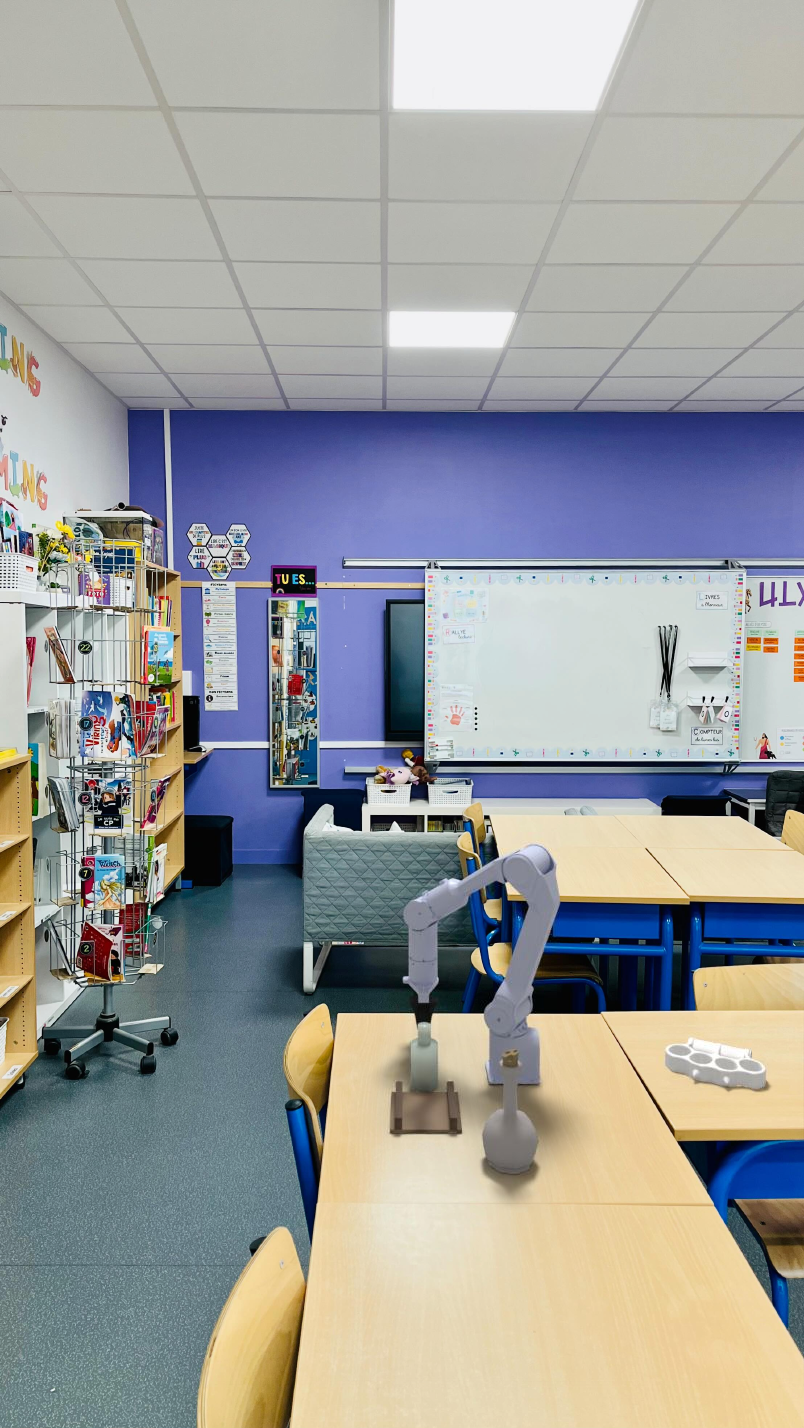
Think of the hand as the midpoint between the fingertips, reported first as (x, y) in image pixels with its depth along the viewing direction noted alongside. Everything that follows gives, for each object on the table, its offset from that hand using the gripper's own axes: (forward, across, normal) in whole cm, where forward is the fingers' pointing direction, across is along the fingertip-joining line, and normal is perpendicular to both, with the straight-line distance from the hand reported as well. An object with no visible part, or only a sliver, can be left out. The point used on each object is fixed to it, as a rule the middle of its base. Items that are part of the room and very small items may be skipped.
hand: (423, 1023), depth 167 cm
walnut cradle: (+6, +22, 0) cm, 23 cm away
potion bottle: (+6, +36, +13) cm, 39 cm away
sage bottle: (+6, +13, 0) cm, 14 cm away
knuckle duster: (+7, +7, +56) cm, 57 cm away
